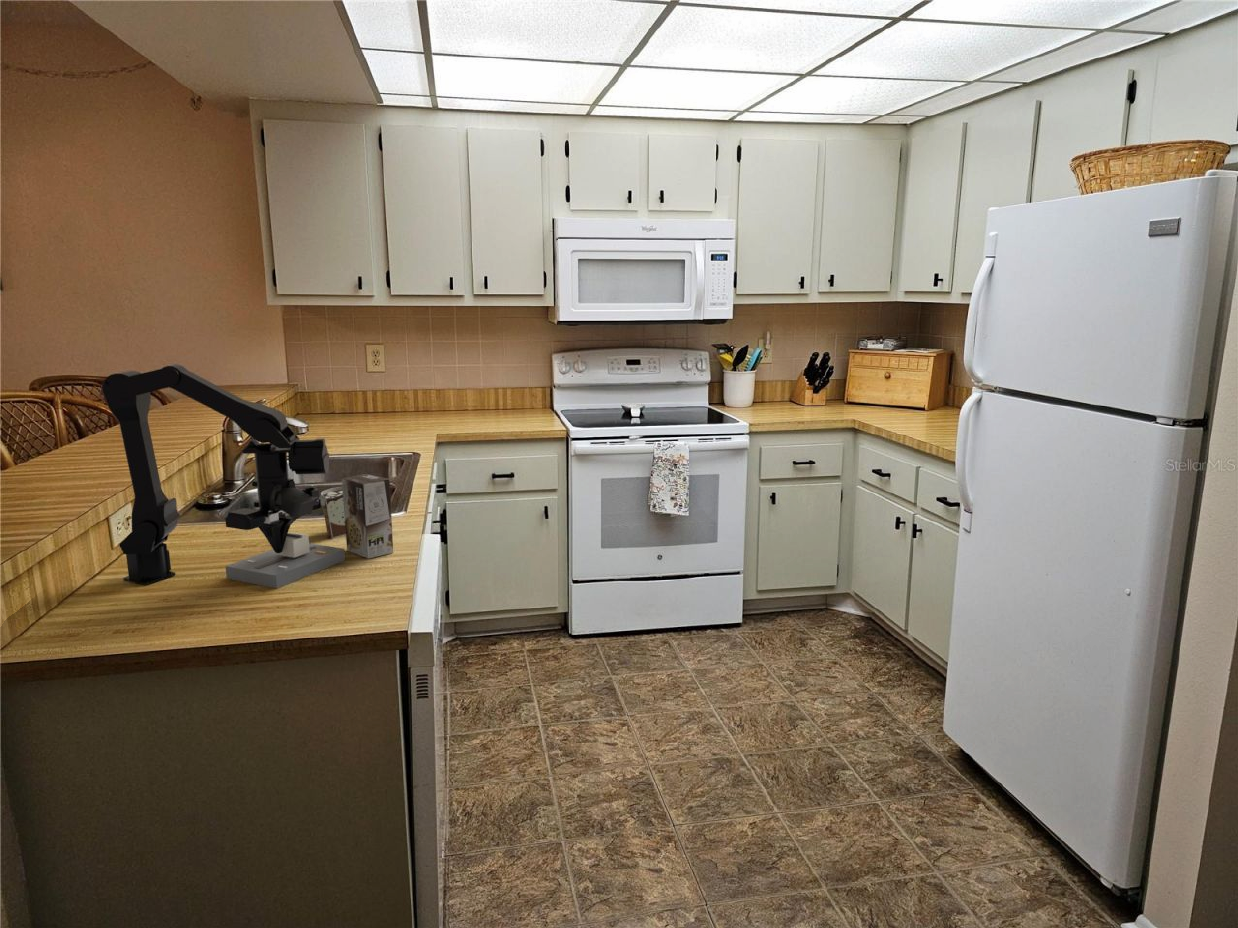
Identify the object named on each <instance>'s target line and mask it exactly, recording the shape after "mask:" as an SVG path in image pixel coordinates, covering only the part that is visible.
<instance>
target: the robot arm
mask: <svg viewBox="0 0 1238 928" xmlns="http://www.w3.org/2000/svg"><path fill="white" fill-rule="evenodd" d="M168 388H169V389H173V390H174V391H177V392H178V393H180V394H181V395H184V396H186V397H188V398H190V399H192V400H194V401H196V402H197V403H199V404H201V405H203V406H205V407H207V408H209V409H211V410H213V411H215V412H217V413H219V414H221V415H223V416H225V417H226V418H229V419H230V420H231V421H233V422H234V423H235V424H236V425H237V426H238V428H239V429H240V430H241V431H243V432H244V433H246V434H247V435H249V436H250V437H251V438H252V439H251V440H250V441H249V442H248V445H247V446H246V447H245V448H243V450H242V451H241V452H242V454H246V455H247V454H254V466H255V477H256V479H255V480H252V481H251V486H252V487H255V488H256V489H257V490H256V491H257V500H256V501H254V502H253V507H254V508H259V509H253V508H247V507H243V508H239V509H235V510H232V511H228V512H227V513H226V515H225V518H224V519H225V528H232V529H237V530H242V531H251V530H254V529H257V528H258V529H259V530H260V531H261V533H262V534H263V535H264V537H265V538H266V541H268V543H269V544H270V547H271V548H272V550H274V551H275V552H276V553H281V552H282V551H283V547H284V544H285V540H286V537H287V533H289V530H290V528H291V525H293V523H294V522H295V521H296V520H298V519H300V518H301V517H303V516H306V515H308V516H309V515H311V514H312V513H313V511H315V510H318V509H322V505H321V499H320V493H319V488H317V487H315V486H312V485H311V486H309V487H306V488H305V489H304V488H301V489H298V488H297V487H296V481H294V478H290V477H289V469H290V470H291V472H295V474H296V475H323V474H324V475H325V474H326V475H327V474H328V473H329V470H330V469H329V468H330V453H329V452H328V448H327V444H326V440H325V438H314V439H300V437H299V436H298V435H297V433H296V432H294V431H293V429H292V428H291V427H290V426H289V425H288V421H287V418H286V415H285V414H284V413H283V412H282V411H280V409H276V408H273V407H271V406H268V405H264V404H261V403H257V402H253V401H250V400H247V399H244V398H241V397H239V396H237V395H235V394H233V393H232V392H230V391H227V390H226V389H224V388H222V387H220V386H218V385H216V384H215V383H212V382H211V381H209V380H207V379H205V378H203V377H200V376H199V375H198V374H196V373H194V372H191V371H190V370H188V369H187V368H186V367H185V366H183V365H180V364H170V365H165V366H164V367H162V368H159V369H155V370H151V371H148V372H143V373H142V372H141V371H137V370H126V371H122V372H116V373H113V374H110V375H108V376H106V378H105V379H104V380H103V382H102V383H101V393H102V395H103V398H104V401H105V403H106V405H107V408H108V409H109V411H110V412H111V414H112V415H113V416H114V418H115V420H116V421H117V422H118V424H119V427H120V428H119V429H120V433H121V437H122V442H123V448H124V452H125V456H126V460H127V461H126V462H127V467H128V470H129V476H130V480H131V485H132V490H133V493H134V500H133V504H132V505H133V506H132V510H131V514H130V516H131V531H130V532H129V534H128V535H127V536H126V537H125V538H124V539H122V541H121V542H120V543H119V548H120V549H121V552H122V553H123V555H125V556H126V557H125V558H126V566H127V576H125V577H123V581H125V582H131V583H135V584H140V585H144V586H145V585H150V584H153V583H155V582H159V581H161V580H164V579H167V578H171V577H174V576H175V575H176V572H174V571H171V570H172V565H171V557H170V550H169V549H168V546H167V543H165V542H167V540H168V538H169V536H170V534H171V533H172V532H173V531H174V530H175V529H176V528H177V526H178V520H179V519H181V514H180V513H179V511H178V508H177V506H178V505H177V498H176V497H172V498H168V497H167V496H166V494H165V493H164V491H163V489H162V484H161V480H160V475H159V469H158V464H157V460H156V455H155V450H154V444H153V439H152V436H151V430H150V426H149V419H148V417H149V416H148V415H149V411H150V406H151V402H152V401H151V400H152V399H151V393H152V392H156V391H159V390H163V389H164V390H165V389H168Z"/></svg>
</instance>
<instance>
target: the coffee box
mask: <svg viewBox="0 0 1238 928" xmlns="http://www.w3.org/2000/svg"><path fill="white" fill-rule="evenodd" d="M390 483H391V479H389V478H387V477H382V476H377V475H374V474H370V473H362V474H357V475H353V476H348V477H343V478H341V487H342V489H343V503H344V516H345V529H346V535H345V540H346V541H345V542H346V551H348V552H350V553H353V554H355V555H358V556H361V557H363V558H366V559H373V558H377V557H380V556H385V555H388V554H389V555H390V554H393V553H394V543H393V542H394V540H393V539H394V537H393V523H392V521H393V520H392V519H393V518H392V505H391V504H392V503H391V485H390Z"/></svg>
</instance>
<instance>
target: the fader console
mask: <svg viewBox="0 0 1238 928" xmlns="http://www.w3.org/2000/svg"><path fill="white" fill-rule="evenodd" d="M309 550H310V552H308V553H306V554H303V555H300V556H298V557H295V558H294V557H288V556H282V555H277V554H276V553H275V551H274V550H273V549H271V550H267V551H264V552H262V553H259V554H255V555H254V556H251V557H248V558H245V559H241V560H239V561H236V562H234V563H230V564H228V565H225V575H226V580H232V581H236V582H237V581H238V582H242V583H248V584H252V585H259V586H263V587H268V588H273V589H279V588H282V587H285V586H286V585H288V584H291V583H293V582H296V581H298V580H301V579H304V578H306V577H309V576H311V575H313V574H316V573H318V572H320V571H323V570H325V569H329V568H330V567H332V566H336V565H337V564H339V563H343V562H345V561H346V556H345V555H346V554H345V548H340V547H335V546H331V545H325V544H324V545H322V544H316V543H312V542H311V543H310V542H309Z"/></svg>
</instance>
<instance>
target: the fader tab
mask: <svg viewBox="0 0 1238 928" xmlns="http://www.w3.org/2000/svg"><path fill="white" fill-rule="evenodd" d="M309 538H310V537H309V535H308V534H303V533H296V532H291V531H288V533H287V537H286V540H285V544H284V547H283V551H282V552H281V553H276V552H275V553H276V554H277V555H282V556H288V557H294V558H295V557H298V556H300V555H303V554H306V553H308V552H310V550H309V543H310V539H309Z"/></svg>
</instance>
